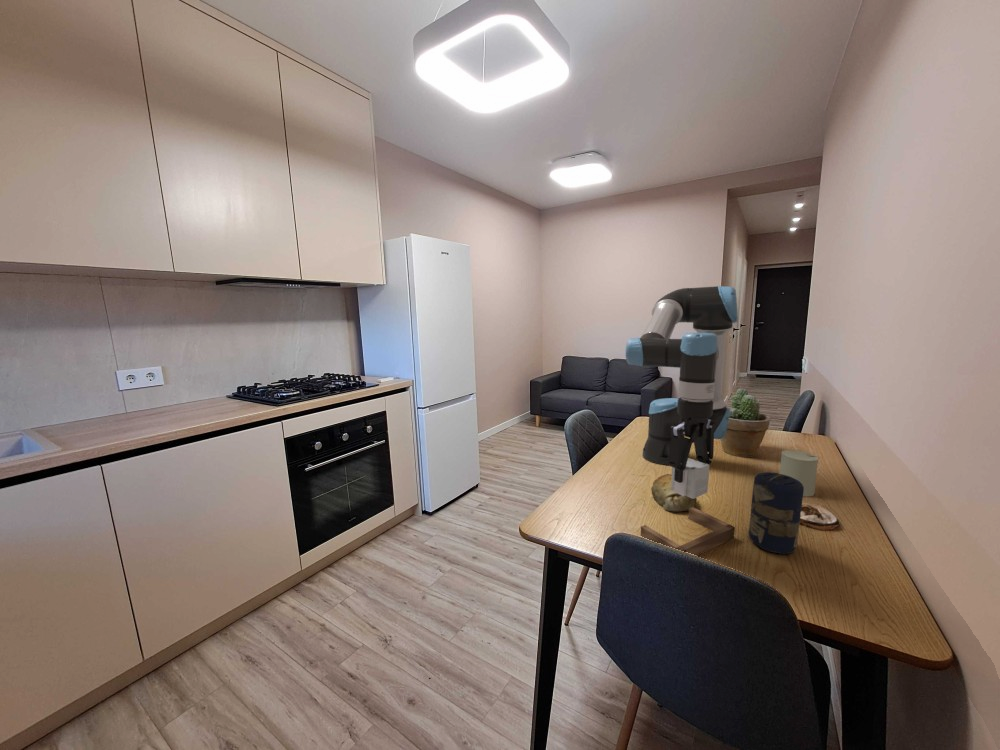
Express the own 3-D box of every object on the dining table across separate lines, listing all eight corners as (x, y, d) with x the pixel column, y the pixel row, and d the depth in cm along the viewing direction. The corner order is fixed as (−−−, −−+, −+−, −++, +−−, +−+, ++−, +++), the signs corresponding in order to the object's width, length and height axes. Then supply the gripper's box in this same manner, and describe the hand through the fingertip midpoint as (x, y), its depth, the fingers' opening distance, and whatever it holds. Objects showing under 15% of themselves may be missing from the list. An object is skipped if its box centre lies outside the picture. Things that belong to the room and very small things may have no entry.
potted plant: (778, 460, 143) (784, 396, 139) (728, 461, 143) (734, 396, 139) (747, 444, 161) (752, 387, 157) (703, 444, 161) (707, 387, 157)
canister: (738, 534, 95) (744, 467, 93) (773, 532, 96) (781, 465, 93) (768, 558, 86) (776, 484, 83) (807, 556, 87) (816, 482, 84)
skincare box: (684, 484, 97) (686, 456, 96) (708, 493, 92) (710, 464, 91) (670, 489, 94) (671, 461, 93) (693, 499, 89) (695, 469, 88)
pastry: (660, 488, 122) (661, 464, 121) (702, 500, 114) (704, 475, 112) (642, 503, 112) (643, 478, 111) (686, 518, 104) (688, 491, 102)
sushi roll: (836, 513, 106) (838, 499, 105) (851, 541, 93) (853, 525, 92) (771, 501, 113) (773, 488, 112) (777, 525, 100) (779, 510, 100)
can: (821, 497, 114) (826, 460, 112) (787, 495, 116) (791, 458, 114) (803, 484, 123) (808, 449, 121) (772, 482, 125) (775, 447, 123)
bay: (640, 537, 95) (640, 526, 94) (691, 517, 104) (692, 506, 104) (681, 563, 85) (681, 551, 84) (734, 538, 94) (735, 526, 94)
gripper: (683, 406, 81) (676, 506, 85) (735, 397, 90) (728, 487, 94) (654, 400, 88) (649, 493, 92) (705, 391, 97) (699, 476, 100)
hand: (689, 490), depth 93 cm, fingers closed on skincare box, 6 cm apart
